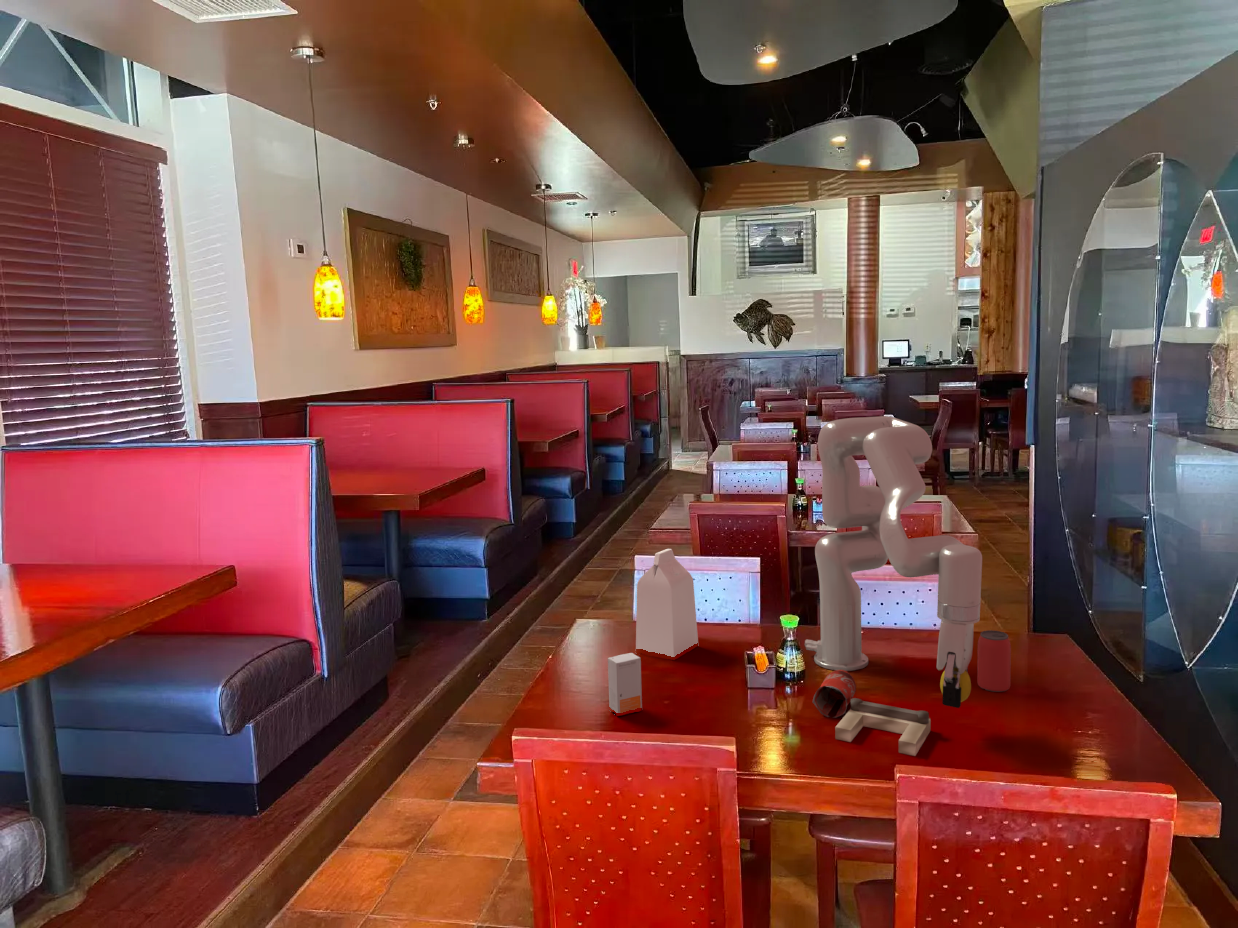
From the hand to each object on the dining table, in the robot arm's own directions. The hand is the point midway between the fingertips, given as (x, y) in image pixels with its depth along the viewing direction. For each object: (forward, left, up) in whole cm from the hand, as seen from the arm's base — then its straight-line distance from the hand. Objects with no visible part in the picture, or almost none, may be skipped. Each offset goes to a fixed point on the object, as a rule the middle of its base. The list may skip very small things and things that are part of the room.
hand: (954, 698), depth 161 cm
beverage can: (-24, +1, -7) cm, 25 cm away
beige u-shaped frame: (-12, -8, -7) cm, 15 cm away
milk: (-73, +15, -7) cm, 75 cm away
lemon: (0, 0, -1) cm, 1 cm away
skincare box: (-62, -22, -7) cm, 66 cm away
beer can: (+3, +26, -7) cm, 27 cm away
